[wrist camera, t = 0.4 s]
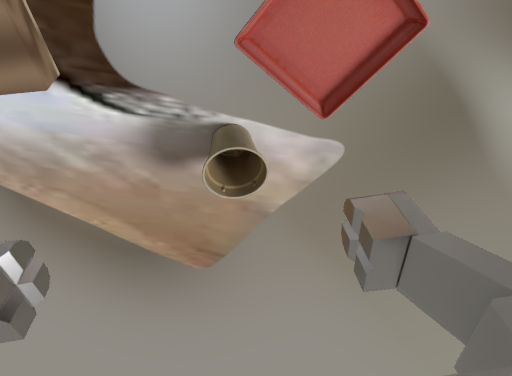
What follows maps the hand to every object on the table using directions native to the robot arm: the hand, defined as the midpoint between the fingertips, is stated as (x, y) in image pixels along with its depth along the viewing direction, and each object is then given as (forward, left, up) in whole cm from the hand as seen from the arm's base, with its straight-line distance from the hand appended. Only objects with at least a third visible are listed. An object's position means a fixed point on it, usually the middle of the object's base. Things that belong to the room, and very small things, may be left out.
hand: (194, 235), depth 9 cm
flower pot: (+22, +2, -38) cm, 44 cm away
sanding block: (+4, -22, -38) cm, 44 cm away
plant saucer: (+6, +16, -39) cm, 42 cm away
